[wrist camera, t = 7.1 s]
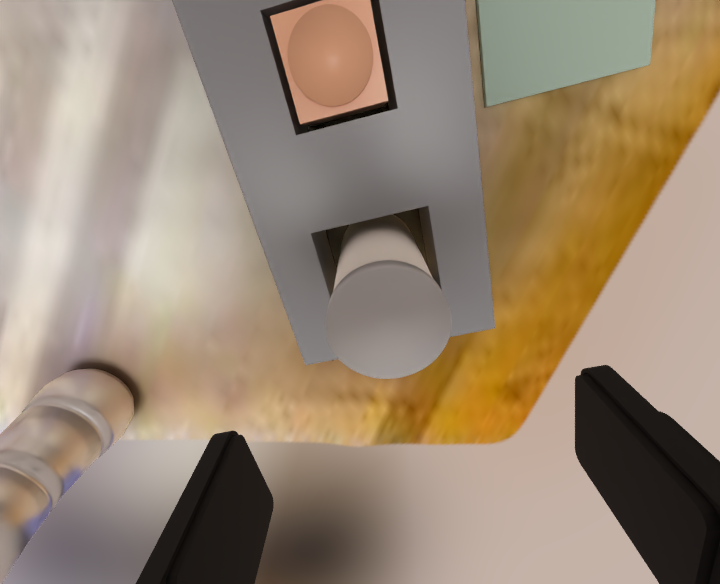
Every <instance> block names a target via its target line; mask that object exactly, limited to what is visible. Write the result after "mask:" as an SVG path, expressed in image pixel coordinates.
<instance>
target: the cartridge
mask: <svg viewBox="0 0 720 584" xmlns="http://www.w3.org/2000/svg"><path fill="white" fill-rule="evenodd" d="M451 325H452V319H451V312H450V308H449V305H448V303H447V300H446V298H445V296H444V294H443V292H442V290H441V289H440V287H439V285H438V284H437V283H436V281H435V280H434V279H433V277H432V275H431V273H430V271H429V269H428V267H427V265H426V263H425V261H424V259H423V256H422V254H421V252H420V250H419V248H418V246H417V244H416V242H415V240H414V238H413V236H412V234H411V232H410V230H409V228H408V226H407V225H406V224H405V223H404V222H403V221H402V220H401V219H400V218H398V217H396V216H395V215H392V214H391V215H387V216H383V217H378V218H374V219H370V220H365V221H361V222H357V223H353V224H350V225H349V227H348V228H347V229H346V231H345V233H344V236H343V240H342V245H341V250H340V256H339V261H338V267H337V273H336V278H335V284H334V289H333V293H332V295H331V298H330V300H329V305H328V310H327V315H326V322H325V329H326V336H327V340H328V343H329V345H330V347H331V349H332V351H333V352H334V354H335V355H336V356H337V358H338V359H339V360H340V361H341V362H342V363H343V364H345V365H346V366H347V367H349V368H350V369H352V370H354V371H355V372H358V373H360V374H362V375H365V376H369V377H373V378H381V379H393V378H400V377H404V376H408V375H411V374H414V373H416V372H418V371H420V370H422V369H424V368H425V367H427V366H428V365H429V364H431V363H432V362H433V361H434V360H435V359H436V358H437V357H438V356H439V355H440V354H441V352H442V351H443V349H444V348H445V346H446V344H447V342H448V339H449V337H450V332H451Z"/></svg>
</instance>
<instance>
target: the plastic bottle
mask: <svg viewBox="0 0 720 584" xmlns="http://www.w3.org/2000/svg"><path fill="white" fill-rule="evenodd" d="M133 415H134V400H133V396H132V393H131V391H130V390H129V388H128V387H127V386H126V385H125V383H123V382H122V381H121V380H120V379H119V378H117V377H116V376H114V375H112V374H110V373H108V372H105V371H102V370H98V369H79V370H72V371H69V372H67V373H65V374H63V375H61V376H59V377H58V378H56V379H54V380H52V381H51V382H49V383H48V384H46V385H45V386H44V387H43V388H42V389H41V390H40V391H39V392H38V393H37V394H36V395H35V397H34V398H33V399H32V400H31V401H30V402H29V404H28V405H27V406H26V407H25V409H24V410H23V411H22V413H21V414H20V415H19V416H18V417H17V418H16V419H15V420H14V421H13V422H12V423H11V424H10V425H9V426H8V427H7V428H6V429H5V430H4V431H3V432H2V433H1V434H0V584H2V583H3V582H4V580H5V579H6V577H7V575H8V574H9V572H10V571H11V569H12V567H13V566H14V564H15V562H16V561H17V560H18V558H19V556H20V555H21V553H22V552H23V550H24V548H25V547H26V545H27V544H28V542H29V541H30V540H31V538H32V537H33V535H34V534H35V533H36V531H37V530H38V529H39V527H40V526H41V525H42V523H43V522H44V521H45V519H46V518H47V516H48V514H49V512H51V511H52V509H53V508H54V507H55V506H56V504H57V503H58V502H59V500H60V499H61V498H62V496H63V495H64V494H65V493H66V491H67V490H68V489H69V488H70V487H71V486H72V485H73V484H74V483H75V482H76V481H77V480H78V478H79V477H80V476H81V475H82V474H83V473H84V472H85V471H86V470H87V469H88V468H89V467H90V466H91V464H92V463H93V462H94V461H95V460H96V459H97V458H98V457H100V456H101V455H102V454H104V453H105V452H106V451H107V450H108V449H109V448H110V447H111V446H112V445H113V444H114V443H115V442H116V441H117V440H118V439H119V438H120V437H121V436H122V435H123V434H124V433H125V431H126V429H127V427H128V425H129V423H130V421H131V419H132V417H133Z"/></svg>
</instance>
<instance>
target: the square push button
mask: <svg viewBox="0 0 720 584" xmlns="http://www.w3.org/2000/svg"><path fill="white" fill-rule="evenodd" d="M270 18H271V22H272V25H273V29H274V32H275V36H276V40H277V43H278V47H279V50H280V54H281V58H282V61H283V65H284V68H285V72H286V76H287V79H288V83H289V86H290V90H291V94H292V97H293V101H294V104H295V108H296V111H297V115H298V119H299V122H300V124H303V125H317V124H321V123H325V122H328V121H332V120H336V119H340V118H343V117H347V116H351V115H355V114H358V113H362V112H366V111H370V110H373V109H377V108H381V107H383V106H384V105H385V104H386V103H387V101H388V96H387V90H386V85H385V79H384V73H383V68H382V62H381V57H380V51H379V46H378V40H377V35H376V29H375V24H374V18H373V13H372V7H371V1H370V0H322V1H318V2H315V3H312V4H308V5H305V6H302V7H299V8H295V9H292V10H289V11H285V12H282V13H279V14H275V15H272V16H270Z"/></svg>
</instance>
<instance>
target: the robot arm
mask: <svg viewBox="0 0 720 584" xmlns="http://www.w3.org/2000/svg"><path fill="white" fill-rule="evenodd" d="M575 451H576V455H577V458H578V460H579V462H580V464H581V466H582V467H583V469H584V470H585V471H586V473H587V475H588V476H589V478H590V479H591V481H592V482H593V484H594V485H595V486H596V488H597V490H598V491H599V493H600V494H601V496H602V497H603V498H604V500H605V502H606V503H607V505H608V506H609V508H610V509H611V511H612V512H613V514H614V515H615V517H616V519H617V520H618V522H619V523H620V525H621V526H622V528H623V529H624V530H625V532H626V534H627V535H628V537H629V538H630V540H631V541H632V543H633V544H634V546H635V547H636V549H637V550H638V552H639V553H640V555H641V556H642V558H643V559H644V561H645V562H646V564H647V565H648V567H649V569H650V570H651V571H652V573H653V575H654V576H655V578H656V579H657V581H658V582H659V584H720V461H719V460H717V459H716V458H715V457H714V456H713V455H712V454H711V453H710V452H708V450H706V449H705V448H704V447H703V446H702V445H701V444H700V443H699V442H698V441H697V440H695V439H694V438H693V437H692V436H691V435H690V434H689V433H688V432H687V431H686V430H685V429H683V428H682V427H681V426H680V425H679V424H678V423H677V422H676V421H675V420H674V419H672V418H671V417H670V416H668V415H667V414H665V413H663V412H659V411H657V410H656V409H655V408H654V407H653V406H652V405H651V404H650V403H649V402H648V401H647V400H646V399H645V398H643V397H642V396H641V395H640V394H639V393H638V392H637V391H636V390H635V389H634V388H633V387H632V386H631V385H630V384H628V383H627V382H626V381H625V380H624V379H623V378H622V377H621V376H620V375H619V374H618V373H617V372H616V371H614V370H613V369H612V368H611V367H610V366H608V365H603V366H597V367H591V368H585V369H583V370H582V371H581V375H579V376H576V378H575ZM272 511H273V497H272V494H271V492H270V490H269V488H268V486H267V484H266V482H265V480H264V478H263V476H262V474H261V472H260V469H259V468H258V465H257V463H256V461H255V459H254V457H253V455H252V453H251V451H250V449H249V447H248V445H247V443H246V441H245V438H244V437H243V436H242V435H238V433H237V432H236V431H229V432H223V433H218V434H215V435H213V436H212V438H211V439H210V441H209V443H208V445H207V447H206V449H205V451H204V453H203V455H202V457H201V459H200V461H199V463H198V465H197V466H196V468H195V470H194V472H193V474H192V476H191V478H190V480H189V482H188V484H187V486H186V488H185V490H184V492H183V493H182V495H181V497H180V499H179V501H178V504H177V505H176V507H175V509H174V511H173V513H172V515H171V517H170V519H169V521H168V523H167V524H166V526H165V528H164V530H163V532H162V534H161V536H160V538H159V540H158V542H157V544H156V546H155V548H154V550H153V552H152V553H151V555H150V557H149V559H148V561H147V563H146V565H145V567H144V569H143V571H142V573H141V575H140V577H139V579H138V580H137V582H136V584H254V583H255V579H256V575H257V571H258V567H259V563H260V559H261V555H262V551H263V547H264V543H265V539H266V535H267V531H268V527H269V523H270V519H271V515H272Z"/></svg>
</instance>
